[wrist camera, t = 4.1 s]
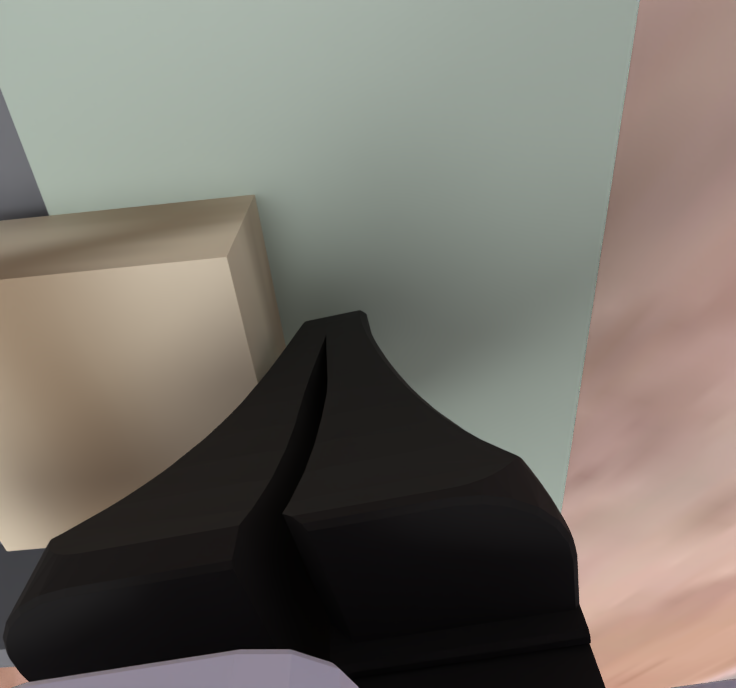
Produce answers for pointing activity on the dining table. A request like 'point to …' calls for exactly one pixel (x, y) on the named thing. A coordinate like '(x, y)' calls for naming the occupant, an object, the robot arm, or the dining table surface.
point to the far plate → (363, 168)
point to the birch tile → (122, 350)
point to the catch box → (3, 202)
